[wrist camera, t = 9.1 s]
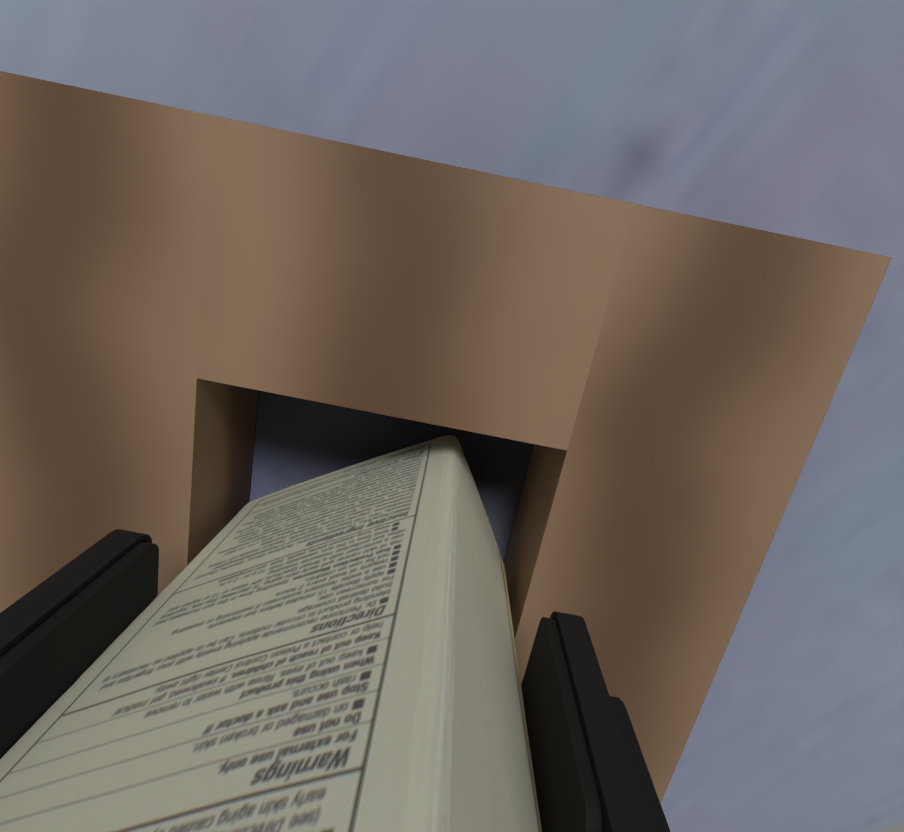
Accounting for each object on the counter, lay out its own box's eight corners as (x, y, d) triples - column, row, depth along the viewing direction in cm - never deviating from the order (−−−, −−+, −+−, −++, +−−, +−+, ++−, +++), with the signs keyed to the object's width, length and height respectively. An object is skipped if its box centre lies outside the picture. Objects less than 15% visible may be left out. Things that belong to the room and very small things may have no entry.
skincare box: (311, 623, 15) (-283, 1947, 3) (243, 492, 14) (-1076, 1797, 2) (514, 563, 14) (740, 2023, 2) (461, 419, 13) (385, 1856, 1)
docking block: (780, 260, 13) (891, 257, 10) (591, 779, 18) (620, 897, 14) (79, 115, 12) (-66, 57, 9) (87, 689, 17) (-4, 790, 14)
